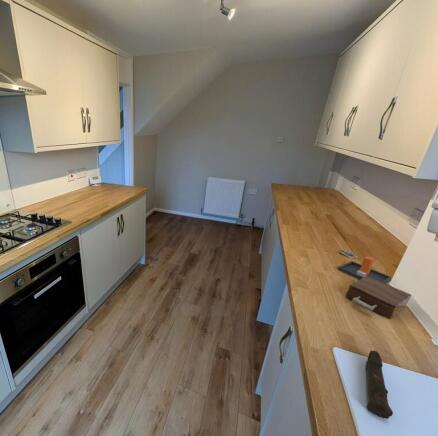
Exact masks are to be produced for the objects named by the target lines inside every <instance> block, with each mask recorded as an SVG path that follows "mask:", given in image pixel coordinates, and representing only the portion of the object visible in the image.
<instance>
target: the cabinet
mask: <svg viewBox="0 0 438 436" xmlns="http://www.w3.org/2000/svg"><path fill="white" fill-rule="evenodd" d="M349 288H353V289H356V290H358V291H360V292H363V293H365V294H367V295H369V296H371V297H373V298H375V299H377V300H379V301H381V302H383V303H386V304H388V305H390V306H392V307H393V308H392V310H391V312H390V314H389V316H388V317H386V316H384V315H382V314H380V313H378V312H376V311H375V310H373V311H374V312H375V313H378V314H380V315H381V316H383V317H385V318H387V319H389V320H390V319H392V318H393V317H394V316H396V315H397V314H399V313H401V311H402V310H404V309H406V307H407V305H408V304H409V301H410V299H411V297H412V294H410V293H408V292H406V291H404V290H401V289H399V288H396V287H394V286H392V285H389V284H387V283H383V282H380V281H378V280H376V279H373V278H371V277H368V276H365V277H364V278H362V279H360V280H359V279H357V280H356V281H354V282H352V283H350V284H349V286H348V288H347V292H346V293H345V297H347V294H348V291H349ZM347 298H348V299H351V298H349V297H347ZM352 300H353V299H351V301H352Z"/></svg>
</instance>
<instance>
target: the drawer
mask: <svg viewBox="0 0 438 436" xmlns="http://www.w3.org/2000/svg"><path fill="white" fill-rule="evenodd" d="M348 289H349V291H348V290H347V291H348V294H347V293H346V294H347V298H348V297H349V298H348V299H350V298H351V301H352V302H354V303H356V304H358V305H359V306H362V307H364V308H365V309H367V310H370V311H371V312H373V311H374V310H375V311H376V312H375V311H374V312H375V313H377V312H378V314H379V313H380V315H381V314H382V315H381V316H383V315H384V316H383V317H385V316H386V317H385V318H387V317H388V316H389V314H390V312H391V310H392V308H393V307H392V306H390V305H388V304H386V303H383V302H381V301H379V300H377V299H375V298H373V297H371V296H369V295H367V294H365V293H363V292H360V291H358V290H356V289H353V288H349V287H348ZM352 299H353V300H352Z"/></svg>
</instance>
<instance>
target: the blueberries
mask: <svg viewBox="0 0 438 436" xmlns="http://www.w3.org/2000/svg"><path fill="white" fill-rule="evenodd" d="M340 253H341V254H342V255H344V256H345V257H348V258H351V259H352V258H353V259H358V258H359V257H358V256H357V255H355V254H353V253H352V252H350V251H348V250H344V249H343V250H342V249H341V250H340Z"/></svg>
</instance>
